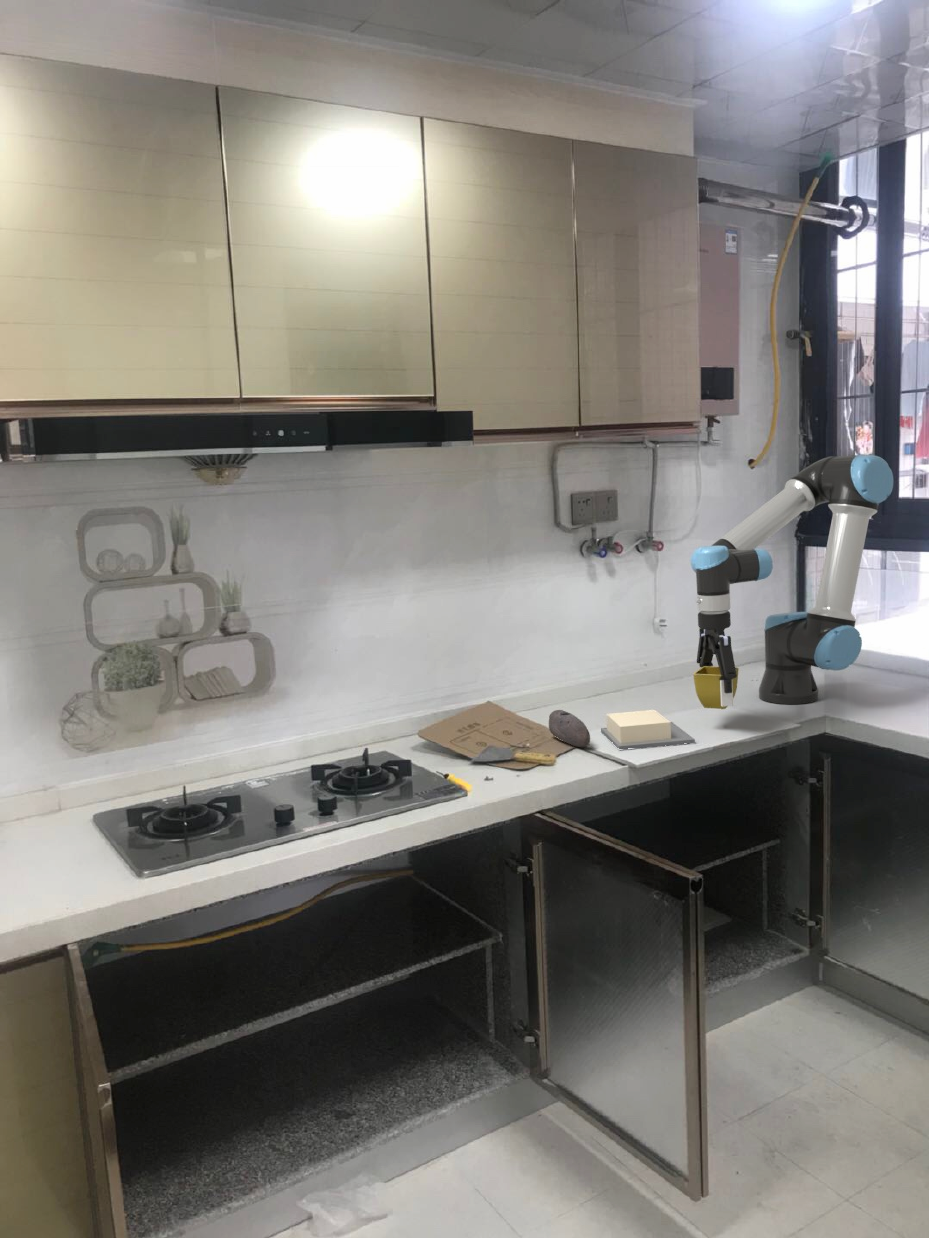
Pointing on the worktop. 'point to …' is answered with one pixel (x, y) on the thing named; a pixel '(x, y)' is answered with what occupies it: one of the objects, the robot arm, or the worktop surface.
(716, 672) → the flower pot
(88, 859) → the worktop surface
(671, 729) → the display base
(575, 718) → the perforated stone tool
